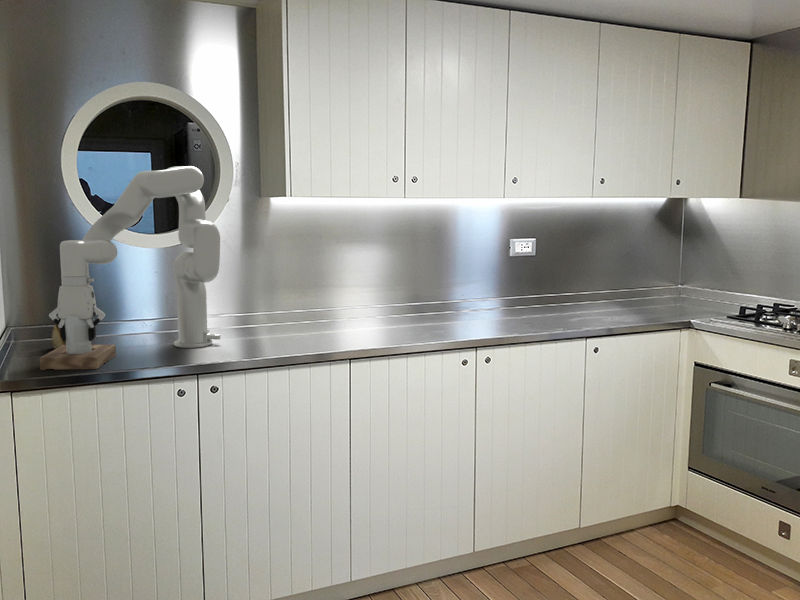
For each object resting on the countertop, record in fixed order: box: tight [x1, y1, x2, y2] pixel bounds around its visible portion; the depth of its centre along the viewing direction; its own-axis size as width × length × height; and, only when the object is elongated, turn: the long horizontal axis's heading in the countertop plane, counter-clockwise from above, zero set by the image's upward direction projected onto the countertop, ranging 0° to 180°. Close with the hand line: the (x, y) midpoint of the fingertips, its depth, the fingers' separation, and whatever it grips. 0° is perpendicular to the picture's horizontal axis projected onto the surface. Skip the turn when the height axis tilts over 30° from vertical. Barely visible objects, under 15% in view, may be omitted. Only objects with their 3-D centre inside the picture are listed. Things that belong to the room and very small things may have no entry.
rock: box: [51, 323, 66, 349], centre depth 233 cm, size 11×9×10 cm
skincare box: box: [65, 316, 92, 354], centre depth 214 cm, size 6×4×12 cm
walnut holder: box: [39, 344, 117, 371], centre depth 215 cm, size 16×18×4 cm
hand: (78, 339), depth 214 cm, fingers closed on skincare box, 7 cm apart
